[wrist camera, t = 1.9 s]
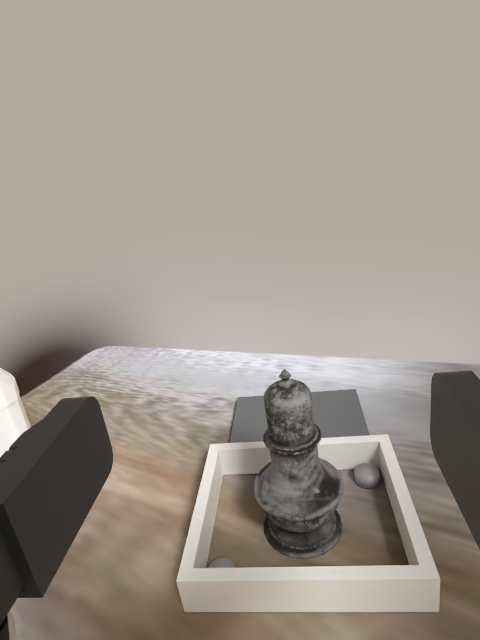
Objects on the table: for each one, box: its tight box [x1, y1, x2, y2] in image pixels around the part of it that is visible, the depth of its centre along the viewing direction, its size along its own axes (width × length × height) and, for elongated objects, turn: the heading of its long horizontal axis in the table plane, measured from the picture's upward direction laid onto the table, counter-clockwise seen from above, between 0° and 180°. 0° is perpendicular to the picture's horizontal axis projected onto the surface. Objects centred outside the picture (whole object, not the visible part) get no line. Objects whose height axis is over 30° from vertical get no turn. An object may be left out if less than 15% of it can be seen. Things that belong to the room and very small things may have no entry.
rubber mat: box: [230, 389, 369, 443], centre depth 40 cm, size 12×8×1 cm, turn 85°
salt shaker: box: [253, 370, 344, 559], centre depth 27 cm, size 6×6×12 cm
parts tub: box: [176, 434, 440, 612], centre depth 29 cm, size 14×12×2 cm
